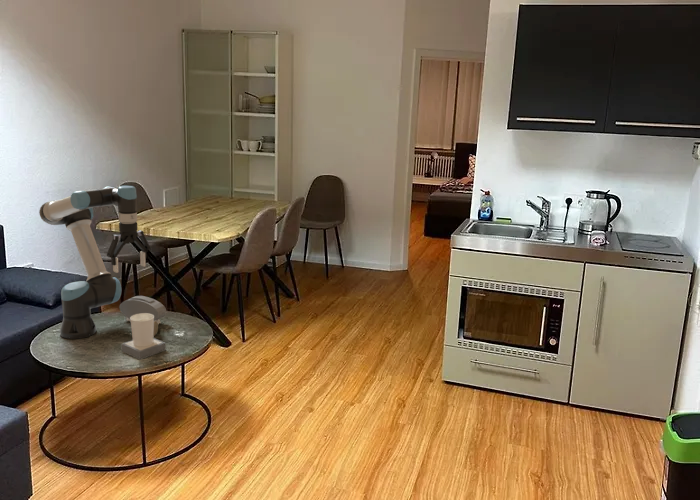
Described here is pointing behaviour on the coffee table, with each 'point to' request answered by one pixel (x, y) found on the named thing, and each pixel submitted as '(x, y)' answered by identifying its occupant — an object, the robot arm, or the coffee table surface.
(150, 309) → the alarm clock
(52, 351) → the coffee table surface
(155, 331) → the ceramic mug
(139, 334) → the candle holder
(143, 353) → the pedestal
